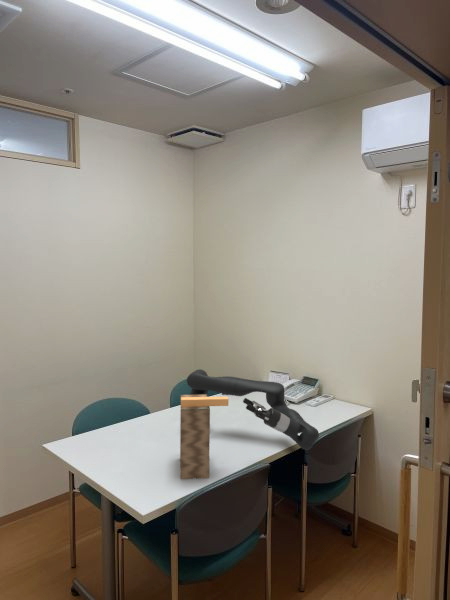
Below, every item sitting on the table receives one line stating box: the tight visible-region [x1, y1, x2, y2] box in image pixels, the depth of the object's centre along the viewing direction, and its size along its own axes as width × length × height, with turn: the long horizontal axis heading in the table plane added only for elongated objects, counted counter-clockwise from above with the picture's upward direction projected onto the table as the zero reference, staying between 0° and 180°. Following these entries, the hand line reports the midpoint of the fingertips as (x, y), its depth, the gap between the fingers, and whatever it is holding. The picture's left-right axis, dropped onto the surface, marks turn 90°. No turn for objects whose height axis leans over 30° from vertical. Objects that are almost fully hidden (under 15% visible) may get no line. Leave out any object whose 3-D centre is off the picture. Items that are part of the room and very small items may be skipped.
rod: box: [180, 396, 229, 408], centre depth 190 cm, size 20×4×3 cm, turn 96°
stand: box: [179, 394, 211, 480], centre depth 196 cm, size 12×20×30 cm, turn 6°
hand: (245, 402), depth 192 cm, fingers open, 8 cm apart
